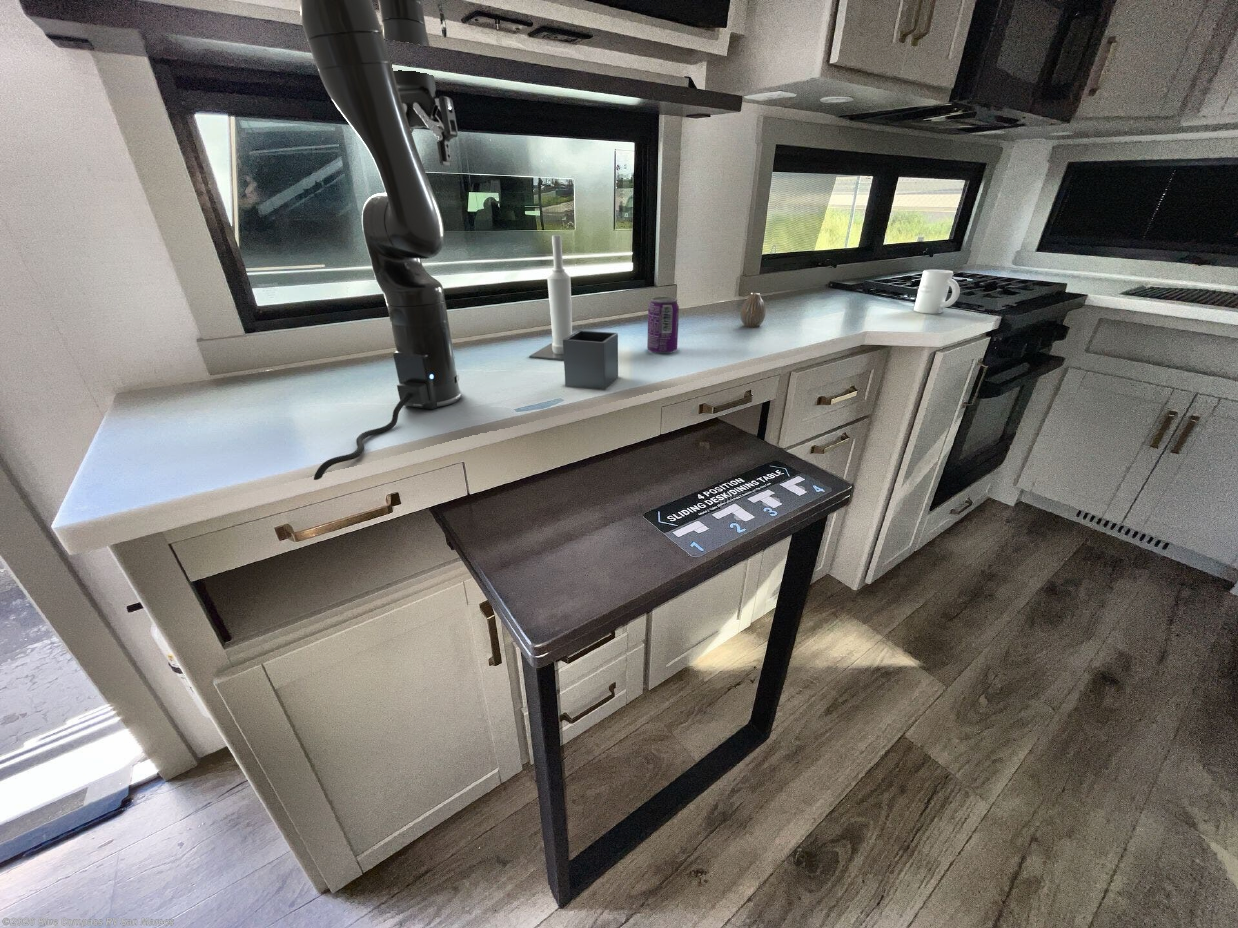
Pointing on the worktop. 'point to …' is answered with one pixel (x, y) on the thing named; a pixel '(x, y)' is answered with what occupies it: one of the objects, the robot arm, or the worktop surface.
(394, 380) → the worktop surface
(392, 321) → the robot arm
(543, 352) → the coaster
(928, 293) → the mug
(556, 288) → the bottle
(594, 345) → the caddy
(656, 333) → the beverage can
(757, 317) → the vase
